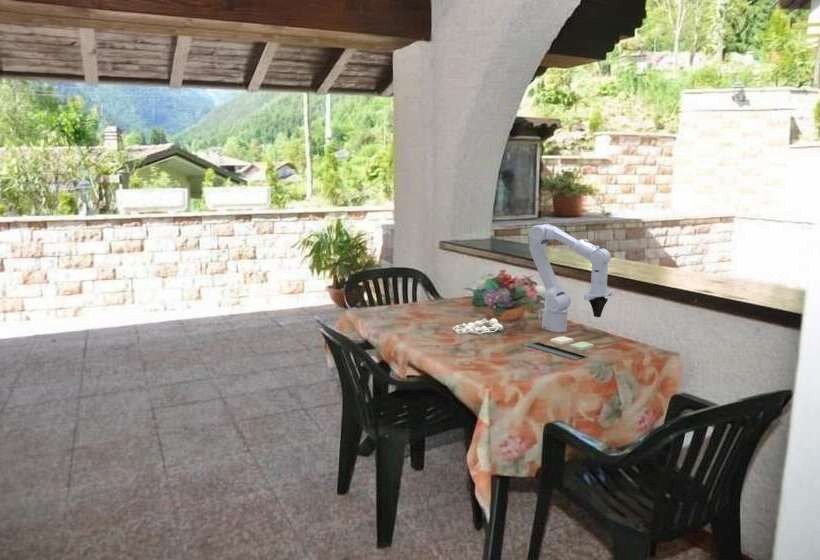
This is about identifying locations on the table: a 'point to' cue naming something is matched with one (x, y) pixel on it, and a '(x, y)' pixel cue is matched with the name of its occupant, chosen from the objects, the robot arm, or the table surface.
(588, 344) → the tile sage
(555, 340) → the tile cream
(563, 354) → the mat
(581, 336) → the board
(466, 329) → the tangled rod sculpture
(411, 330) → the table surface
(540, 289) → the lollipop
